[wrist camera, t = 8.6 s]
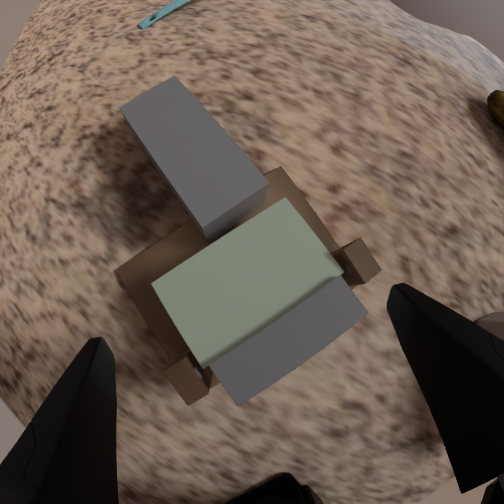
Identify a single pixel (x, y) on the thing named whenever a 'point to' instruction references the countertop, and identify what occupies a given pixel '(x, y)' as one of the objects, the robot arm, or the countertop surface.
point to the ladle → (162, 12)
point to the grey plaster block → (493, 324)
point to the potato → (497, 105)
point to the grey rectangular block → (195, 157)
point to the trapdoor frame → (192, 241)
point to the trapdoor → (259, 301)
